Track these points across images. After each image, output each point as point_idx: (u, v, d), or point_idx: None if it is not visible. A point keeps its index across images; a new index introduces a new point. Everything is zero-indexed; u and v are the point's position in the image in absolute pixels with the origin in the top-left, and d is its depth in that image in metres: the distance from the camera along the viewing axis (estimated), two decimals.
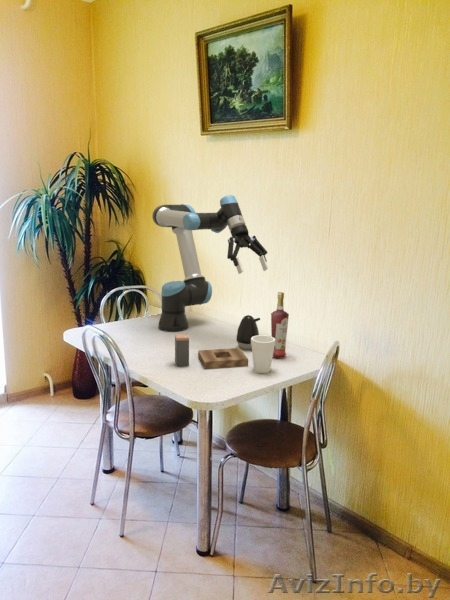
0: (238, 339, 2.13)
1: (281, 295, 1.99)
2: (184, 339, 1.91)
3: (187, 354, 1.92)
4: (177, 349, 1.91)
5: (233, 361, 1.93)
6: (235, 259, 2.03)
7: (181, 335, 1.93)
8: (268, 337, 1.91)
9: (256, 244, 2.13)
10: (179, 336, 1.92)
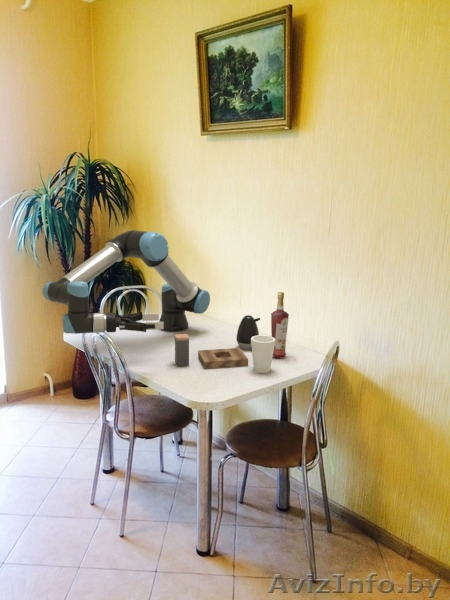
0: (238, 339, 2.13)
1: (281, 295, 1.99)
2: (184, 339, 1.91)
3: (187, 354, 1.92)
4: (177, 349, 1.91)
5: (233, 361, 1.93)
6: None
7: (181, 335, 1.93)
8: (268, 337, 1.91)
9: None
10: (179, 336, 1.92)
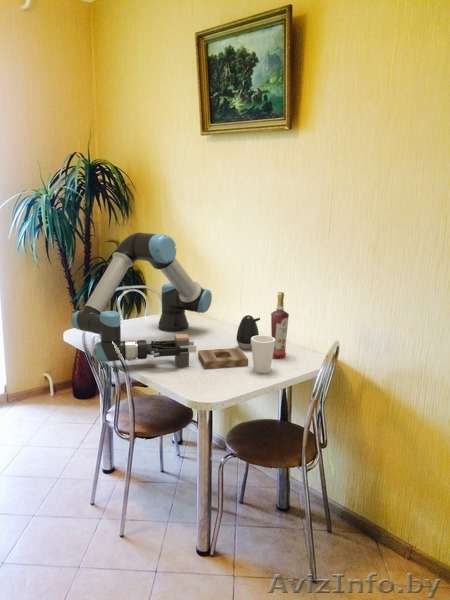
0: (238, 339, 2.13)
1: (281, 295, 1.99)
2: (184, 339, 1.91)
3: (187, 354, 1.92)
4: None
5: (233, 361, 1.93)
6: None
7: (181, 335, 1.93)
8: (268, 337, 1.91)
9: None
10: (179, 336, 1.92)
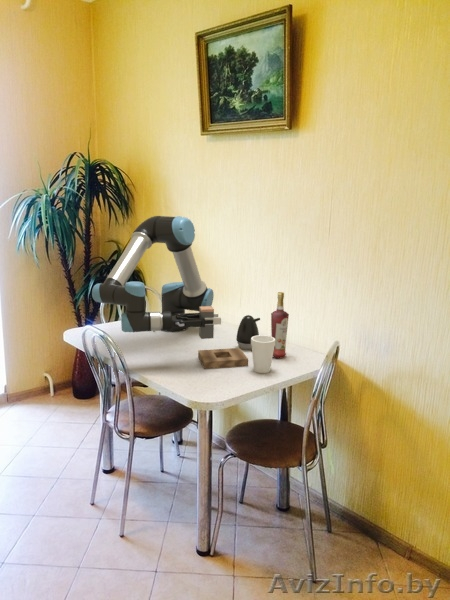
0: (238, 339, 2.13)
1: (281, 295, 1.99)
2: (209, 311, 1.89)
3: (212, 326, 1.91)
4: None
5: (233, 361, 1.93)
6: None
7: (206, 307, 1.92)
8: (268, 337, 1.91)
9: None
10: (204, 308, 1.91)
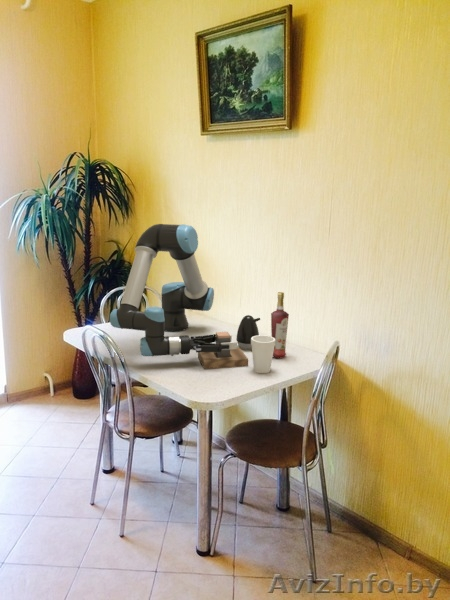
0: (238, 339, 2.13)
1: (281, 295, 1.99)
2: (226, 337, 1.94)
3: (228, 351, 1.96)
4: None
5: (233, 361, 1.93)
6: None
7: (222, 333, 1.97)
8: (268, 337, 1.91)
9: None
10: (221, 334, 1.96)
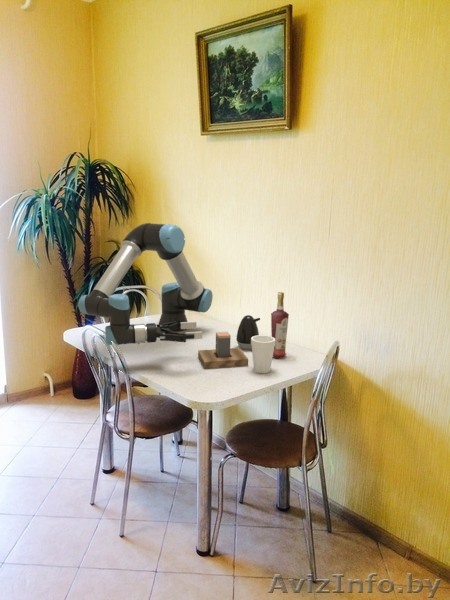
0: (238, 339, 2.13)
1: (281, 295, 1.99)
2: (226, 337, 1.94)
3: (228, 352, 1.96)
4: (219, 347, 1.95)
5: (233, 361, 1.93)
6: None
7: (222, 333, 1.97)
8: (268, 337, 1.91)
9: None
10: (221, 334, 1.96)
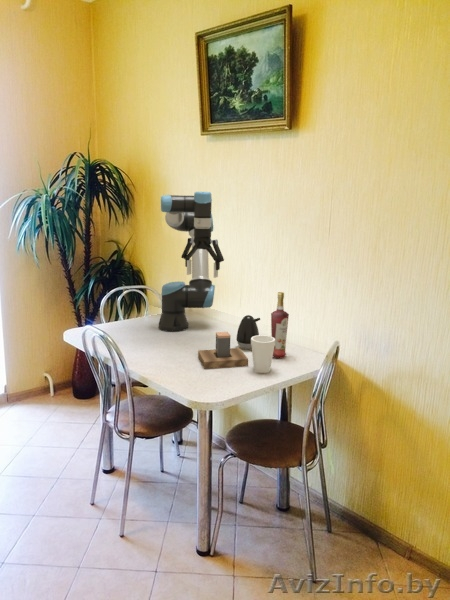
0: (238, 339, 2.13)
1: (281, 295, 1.99)
2: (226, 337, 1.94)
3: (228, 352, 1.96)
4: (219, 347, 1.95)
5: (233, 361, 1.93)
6: (186, 261, 2.16)
7: (222, 333, 1.97)
8: (268, 337, 1.91)
9: None
10: (221, 334, 1.96)
